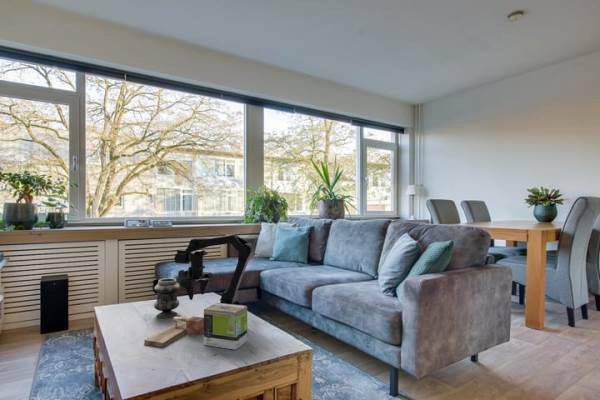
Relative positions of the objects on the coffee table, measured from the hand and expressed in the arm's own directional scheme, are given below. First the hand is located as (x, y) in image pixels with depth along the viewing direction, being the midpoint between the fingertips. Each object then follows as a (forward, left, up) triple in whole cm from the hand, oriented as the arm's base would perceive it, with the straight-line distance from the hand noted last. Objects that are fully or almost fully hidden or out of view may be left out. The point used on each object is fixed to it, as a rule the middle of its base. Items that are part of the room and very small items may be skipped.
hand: (196, 297), depth 160 cm
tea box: (-25, +17, -12) cm, 33 cm away
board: (+1, +18, -12) cm, 21 cm away
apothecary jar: (+20, -4, -12) cm, 24 cm away
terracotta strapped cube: (-3, +11, -12) cm, 17 cm away
